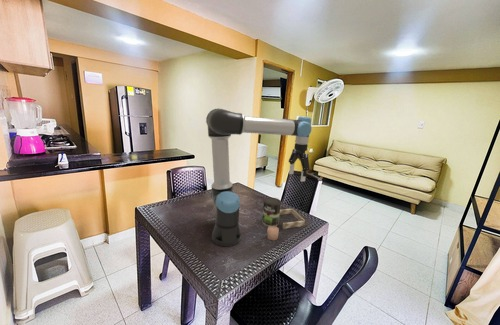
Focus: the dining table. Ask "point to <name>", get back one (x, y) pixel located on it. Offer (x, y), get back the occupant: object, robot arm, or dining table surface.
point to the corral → (293, 224)
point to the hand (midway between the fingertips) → (296, 177)
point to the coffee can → (271, 211)
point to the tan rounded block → (272, 232)
